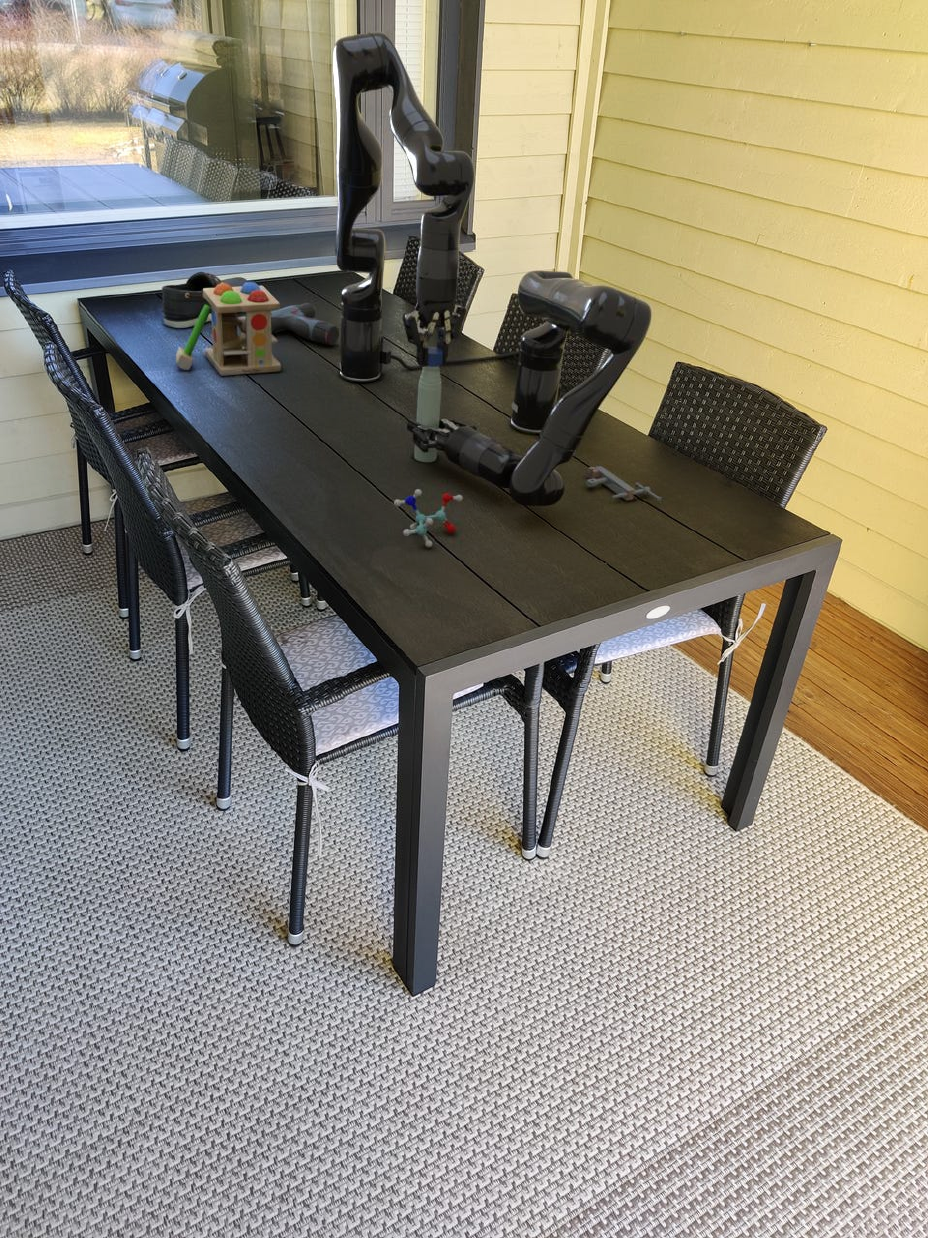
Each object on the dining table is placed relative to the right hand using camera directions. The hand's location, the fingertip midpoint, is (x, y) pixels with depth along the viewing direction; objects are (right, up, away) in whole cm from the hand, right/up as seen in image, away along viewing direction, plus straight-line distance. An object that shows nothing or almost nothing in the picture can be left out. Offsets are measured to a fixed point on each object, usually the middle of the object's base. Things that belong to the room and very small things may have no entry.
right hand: (418, 421), depth 196 cm
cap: (+3, +11, -10) cm, 15 cm away
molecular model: (+2, -25, -24) cm, 34 cm away
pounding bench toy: (-47, +20, +35) cm, 62 cm away
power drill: (-30, +34, +58) cm, 74 cm away
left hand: (+3, +9, -9) cm, 13 cm away
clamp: (+39, -15, -4) cm, 42 cm away
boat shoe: (-59, +42, +66) cm, 98 cm away
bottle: (+1, -7, +2) cm, 7 cm away
